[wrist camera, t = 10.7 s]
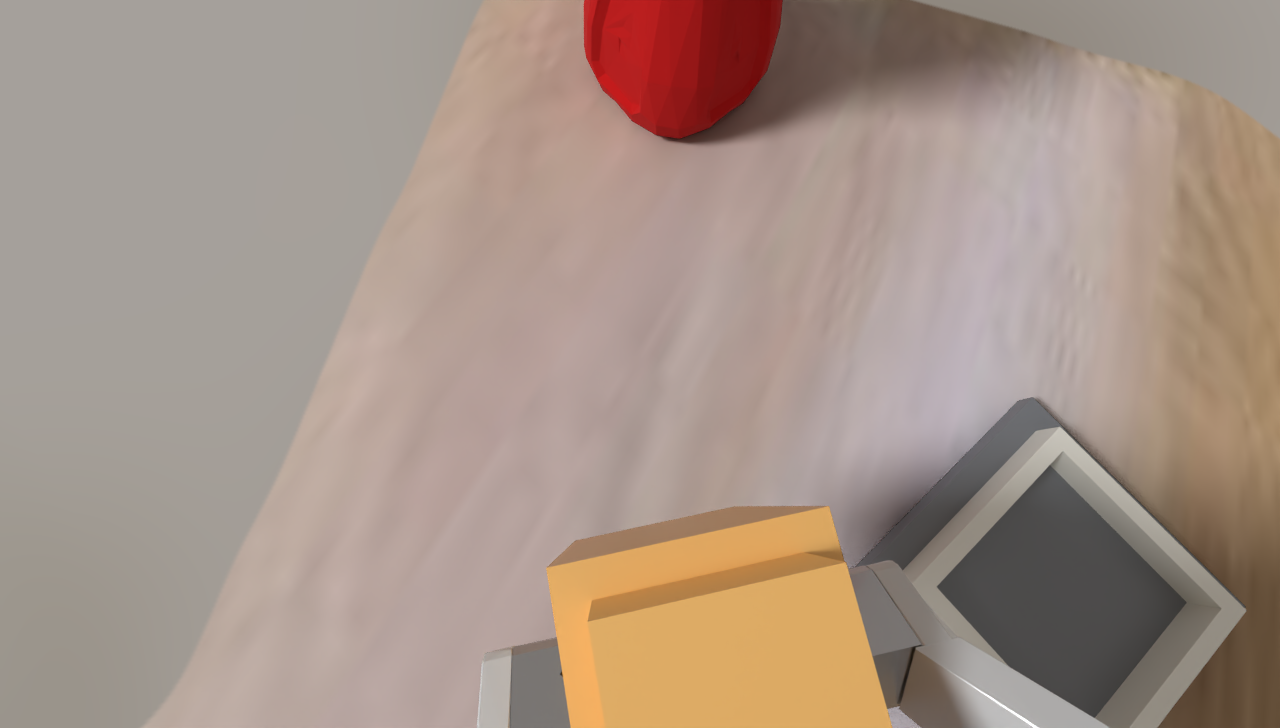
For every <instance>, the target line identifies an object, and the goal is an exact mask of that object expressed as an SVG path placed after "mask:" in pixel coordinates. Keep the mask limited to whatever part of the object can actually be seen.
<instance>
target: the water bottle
mask: <svg viewBox="0 0 1280 728" xmlns="http://www.w3.org/2000/svg"><path fill="white" fill-rule="evenodd" d="M782 2H783V0H584V47H585V53H586V58H587V60H588V62H589V64H590V66H591V68H592V70H593V72H594V74H595V76H596V78H597V80H598V82H599V84H600V86H601V88H602V90H603V91H604V92H605V93H606V94H608V95H609V96H610V97H611V98H612V99H613V100H615V101H616V102H617V104H618V105H619V106H620V107H621V108H622V109H623V111H624V112H625V113H626V114H627V115H628V117H629V118H630V119H631V120H632V121H633V122H635V123H636V124H638V125H640V126H642V127H643V128H645V129H647V130H648V131H650V132H652V133H654V134H655V135H658V136H665V137H672V138H679V139H680V138H683V137H686V136H688V135H691V134H694V133H697V132H699V131H702V130H705V129H708V128H710V127H711V126H712V125H713V124H715V123H716V122H717V121H718V120H720V119H721V118H722V117H723V116H725V115H726V114H727V113H728V112H730V111H731V110H733V109H735V108H736V107H738V106H739V105H741V104H743V102H744V101H745V100H746V98H747V97H748V96H749V95H750V93H751V92H752V90H753V89H754V88H755V86H756V85H757V84H758V82H759V81H760V80H761V78H762V77H763V76H764V74H765V73H766V72H767V70H768V66H769V63H770V59H771V56H772V52H773V49H774V45H775V42H776V38H777V35H778V31H779V28H780V22H781V12H782Z"/></svg>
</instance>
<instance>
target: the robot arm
mask: <svg viewBox="0 0 1280 728" xmlns="http://www.w3.org/2000/svg"><path fill="white" fill-rule="evenodd" d="M848 571H849V575H850V578H851V582H852V585H853V589H854V592H855V596H856V600H857V603H858V607H859V610H860V614H861V617H862V621H863V625H864V628H865V632H866V635H867V639H868V643H869V646H870V650H871V653H872V657H873V660H874V664H875V668H876V671H877V675H878V678H879V682H880V685H881V689H882V693H883V696H884V700H885V703H886V707H887V709H888V708H893V707H897V706H900V708H899V709H900V710H901V711H902V712H904V713H905V714H906V715H907V716H908V717H909V718H911V719H912V720H913V721H914V722H915V723H917V724H918V725H919V726H920V727H921V728H1110V727H1108V726H1107V725H1105V724H1103V723H1102V722H1100V721H1098V720H1097V719H1095V718H1093V717H1092V716H1090V715H1088V714H1087V713H1085V712H1083V711H1082V710H1080V709H1078V708H1077V707H1075V706H1073V705H1072V704H1070V703H1068V702H1067V701H1065V700H1063V699H1062V698H1060V697H1059V696H1057V695H1055V694H1054V693H1052V692H1050V691H1049V690H1047V689H1045V688H1044V687H1042V686H1040V685H1039V684H1037V683H1035V682H1034V681H1032V680H1030V679H1029V678H1027V677H1025V676H1024V675H1022V674H1020V673H1019V672H1017V671H1015V670H1014V669H1012V668H1010V667H1009V666H1007V665H1005V664H1004V663H1002V662H1001V661H999V660H997V659H996V658H994V657H992V656H991V655H989V654H987V653H986V652H984V651H982V650H981V649H979V648H977V647H976V646H974V645H972V644H971V643H969V642H967V641H966V640H964V639H962V638H961V637H956V638H951V637H950V635H949V634H948V632H947V631H946V630H945V628H944V627H943V626H942V624H941V623H940V621H939V620H938V619H937V617H936V616H935V615H934V613H933V612H932V610H931V609H930V608H929V606H928V605H927V604H926V602H925V601H924V599H923V598H922V597H921V595H920V594H919V593H918V591H917V590H916V588H915V587H914V586H913V584H912V583H911V582H910V580H909V579H908V578H907V576H906V575H905V573H904V572H903V571H902V569H901V568H900V567H899V565H898V564H896V563H895V562H894V561H892V560H887V561H883V562H879V563H874V564H870V565H866V566H864V565H863V566H859V567H855V568H851V569H848ZM477 728H571V727H570V720H569V713H568V707H567V700H566V694H565V687H564V681H563V674H562V667H561V661H560V654H559V648H558V641H557V637H555V638H551V639H546V640H542V641H537V642H533V643H528V644H524V645H520V646H513V647H508V648H504V649H500V650H496V651H492V652H487V653H485V655H484V659H483V662H482V669H481V682H480V695H479V708H478V721H477Z"/></svg>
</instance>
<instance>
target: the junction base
mask: <svg viewBox="0 0 1280 728" xmlns="http://www.w3.org/2000/svg"><path fill="white" fill-rule="evenodd" d="M887 560H892V561H894V562H895V563H896V564H898V565H899V567H900V568H901V569H902V571H903V572H904V573H905V575H906V576H907V578H908V579H909V580H910V582H911V583H912V584H913V586H914V587H915V588H916V590H917V591H918V593H919V594H920V595H921V597H922V598H923V599H924V601H925V602H926V604H927V605H928V606H929V608H930V609H931V610H932V612H933V613H934V615H935V616H936V617H937V619H938V620H939V621H940V623H941V624H942V626H943V627H944V628H945V630H946V631H947V632H948V634H949V635H950V637H951V638H956V637H961V638H962V639H964V640H966V641H967V642H969V643H971V644H972V645H974V646H976V647H977V648H979V649H981V650H982V651H984V652H986V653H987V654H989V655H991V656H992V657H994V658H996V659H997V660H999V661H1001V662H1002V663H1004V664H1005V665H1007V666H1009V667H1010V668H1012V669H1014V670H1015V671H1017V672H1019V673H1020V674H1022V675H1024V676H1025V677H1027V678H1029V679H1030V680H1032V681H1034V682H1035V683H1037V684H1039V685H1040V686H1042V687H1044V688H1045V689H1047V690H1049V691H1050V692H1052V693H1054V694H1055V695H1057V696H1059V697H1060V698H1062V699H1063V700H1065V701H1067V702H1068V703H1070V704H1072V705H1073V706H1075V707H1077V708H1078V709H1080V710H1082V711H1083V712H1085V713H1087V714H1088V715H1090V716H1092V717H1093V718H1095V719H1097V720H1098V721H1100V722H1102V723H1103V724H1105V725H1107V726H1108V727H1110V728H1157V727H1158V726H1159V725H1160V723H1161V722H1162V721H1163V719H1164V718H1165V717H1166V716H1167V714H1168V713H1169V712H1170V710H1171V709H1172V708H1173V706H1174V705H1175V704H1176V702H1177V701H1178V700H1179V699H1180V697H1181V696H1182V695H1183V693H1184V692H1185V691H1186V689H1187V688H1188V687H1189V685H1190V684H1191V683H1192V682H1193V680H1194V679H1195V678H1196V676H1197V675H1198V674H1199V672H1200V671H1201V670H1202V668H1203V667H1204V666H1205V665H1206V663H1207V662H1208V661H1209V659H1210V658H1211V657H1212V655H1213V654H1214V653H1215V651H1216V650H1217V649H1218V648H1219V646H1220V645H1221V644H1222V642H1223V641H1224V640H1225V638H1226V637H1227V636H1228V634H1229V633H1230V632H1231V631H1232V629H1233V628H1234V627H1235V625H1236V624H1237V623H1238V621H1239V620H1240V619H1241V617H1242V616H1243V615H1244V613H1245V612H1246V611H1247V610H1246V609H1245V606H1244V605H1243V604H1242V603H1241V602H1240V601H1239V600H1238V599H1237V598H1236V597H1235V596H1234V595H1233V594H1232V593H1231V592H1230V591H1229V590H1228V589H1227V588H1226V587H1225V586H1224V585H1223V584H1222V583H1221V582H1220V581H1219V580H1218V579H1217V578H1216V577H1215V576H1214V575H1213V574H1212V573H1211V572H1210V571H1209V570H1208V569H1207V568H1206V567H1205V566H1204V565H1203V564H1202V563H1201V562H1200V561H1199V560H1198V559H1197V558H1196V557H1195V556H1194V555H1193V554H1192V553H1191V552H1189V551H1188V550H1187V549H1186V548H1185V547H1184V546H1183V545H1182V544H1181V543H1180V542H1179V541H1178V540H1177V539H1176V538H1175V537H1174V536H1173V535H1172V534H1171V533H1170V532H1169V531H1168V530H1167V529H1166V528H1165V527H1164V526H1163V525H1162V524H1161V523H1160V522H1159V521H1158V520H1157V519H1156V518H1155V517H1154V516H1153V515H1152V514H1151V513H1150V512H1149V511H1148V510H1147V509H1146V508H1145V507H1144V506H1143V505H1142V504H1141V503H1140V502H1139V501H1138V500H1137V499H1136V498H1135V497H1134V496H1133V495H1132V494H1131V493H1130V492H1129V491H1127V490H1126V489H1125V488H1124V487H1123V486H1122V485H1121V484H1120V483H1119V482H1118V481H1117V480H1116V479H1115V478H1114V477H1113V476H1112V475H1111V474H1110V473H1109V472H1108V471H1107V470H1106V469H1105V468H1104V467H1103V466H1102V465H1101V464H1100V463H1099V462H1098V461H1097V460H1096V459H1095V458H1094V457H1093V456H1092V455H1091V454H1090V453H1089V452H1088V451H1087V450H1086V449H1085V448H1084V447H1083V446H1082V445H1081V444H1080V443H1079V442H1078V441H1077V440H1076V439H1075V438H1074V437H1073V436H1072V435H1071V434H1070V433H1069V432H1068V431H1067V430H1065V429H1064V428H1063V427H1062V426H1061V425H1060V424H1059V423H1058V422H1057V421H1056V420H1055V419H1054V418H1053V417H1052V416H1051V415H1050V414H1049V413H1048V412H1047V411H1046V410H1045V409H1044V408H1043V407H1042V406H1041V405H1040V404H1039V403H1038V402H1037V401H1036V400H1035V399H1034V398H1033V397H1031V398H1027V399H1023V400H1019V401H1018V402H1017V403H1016V404H1015V405H1014V406H1013V407H1012V408H1011V409H1010V410H1009V411H1008V412H1007V413H1006V414H1005V415H1004V416H1003V417H1002V418H1001V419H1000V420H999V421H998V422H997V423H996V424H995V425H994V426H993V427H992V428H991V429H990V430H989V431H988V432H987V433H986V434H985V435H984V436H983V437H982V438H981V439H980V440H979V441H978V442H977V443H976V444H975V445H974V446H973V448H972V449H971V450H970V451H969V452H968V453H967V454H966V455H965V456H964V457H963V458H962V459H961V460H960V461H959V462H958V463H957V464H956V465H955V466H954V467H953V468H952V469H951V470H950V471H949V472H948V473H947V474H946V475H945V476H944V477H943V478H942V479H941V480H940V481H939V482H938V483H937V484H936V485H935V486H934V487H933V488H932V489H931V490H930V491H929V492H928V493H927V494H926V495H925V496H924V497H923V498H922V500H921V501H920V502H919V503H918V504H917V505H916V506H915V507H914V508H913V509H912V510H911V511H910V512H909V513H908V514H907V515H906V516H905V517H904V518H903V519H902V520H901V521H900V522H899V523H898V524H897V525H896V526H895V527H894V528H893V529H892V530H891V531H890V532H889V533H888V534H887V535H886V536H885V537H884V538H883V539H882V540H881V541H880V542H879V543H878V544H877V545H876V546H875V547H874V548H873V549H872V550H871V551H870V553H869V554H868V555H867V556H866V557H865V558H864V559H863V560H862V561H861V562H860V563H859V564H858V565H857V566H856V567H859V566H863V565H864V566H866V565H870V564H874V563H879V562H883V561H887Z"/></svg>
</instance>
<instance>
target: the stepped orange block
mask: <svg viewBox="0 0 1280 728" xmlns="http://www.w3.org/2000/svg"><path fill="white" fill-rule="evenodd" d="M546 569H547V575H548V582H549V589H550V595H551V602H552V608H553V615H554V621H555V628H556V635H557V641H558V648H559V654H560V661H561V667H562V674H563V681H564V687H565V694H566V700H567V707H568V713H569V720H570V727H571V728H892V725H891V721H890V718H889V714H888V710H887V707H886V703H885V700H884V696H883V693H882V689H881V685H880V682H879V678H878V675H877V671H876V668H875V664H874V660H873V657H872V653H871V650H870V646H869V643H868V639H867V635H866V632H865V628H864V625H863V621H862V617H861V614H860V610H859V607H858V603H857V600H856V596H855V592H854V589H853V585H852V582H851V578H850V575H849V571H848V567H847V564H846V562H844V558H843V555H842V551H841V548H840V544H839V540H838V537H837V533H836V530H835V526H834V522H833V519H832V515H831V512H830V508H829V506H747V507H730V508H725V509H721V510H716V511H711V512H707V513H702V514H697V515H693V516H688V517H683V518H679V519H674V520H669V521H665V522H660V523H655V524H651V525H646V526H641V527H637V528H632V529H627V530H623V531H618V532H613V533H609V534H604V535H600V536H595V537H590V538H586V539H581V540H576V541H574V542H573V543H572V544H571V545H570V546H569V547H568V548H567V549H566V550H565V551H564V552H563V553H562V554H561V555H560V556H558V557H557V558H556V559H555V560H554V561H553V562H552V563H551V564H550V565H549V566H548V567H547V568H546Z"/></svg>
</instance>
